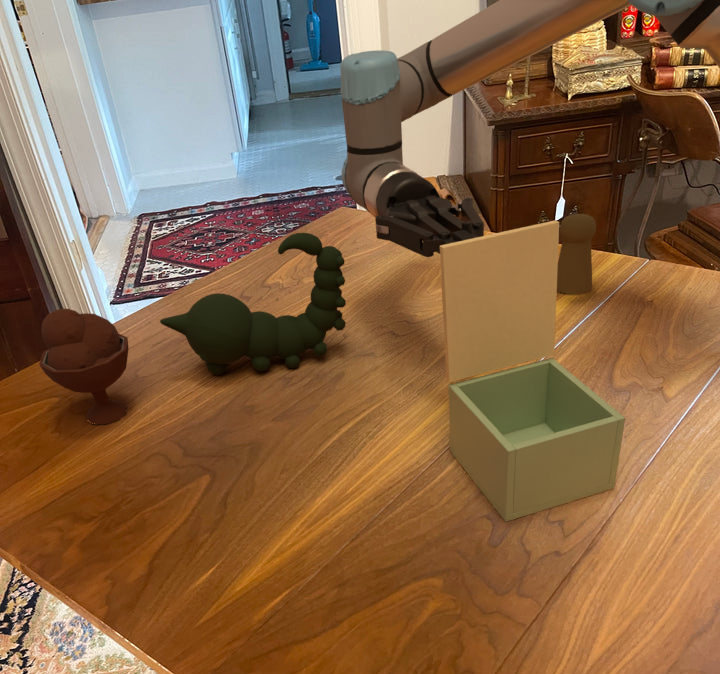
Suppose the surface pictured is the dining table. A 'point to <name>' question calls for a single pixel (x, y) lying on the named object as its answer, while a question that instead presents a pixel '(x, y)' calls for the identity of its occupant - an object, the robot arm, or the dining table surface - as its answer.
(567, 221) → the cork
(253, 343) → the toy figurine
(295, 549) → the dining table surface
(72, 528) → the dining table surface
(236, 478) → the dining table surface
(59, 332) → the ice cream bowl
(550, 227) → the caddy lid
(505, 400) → the box
